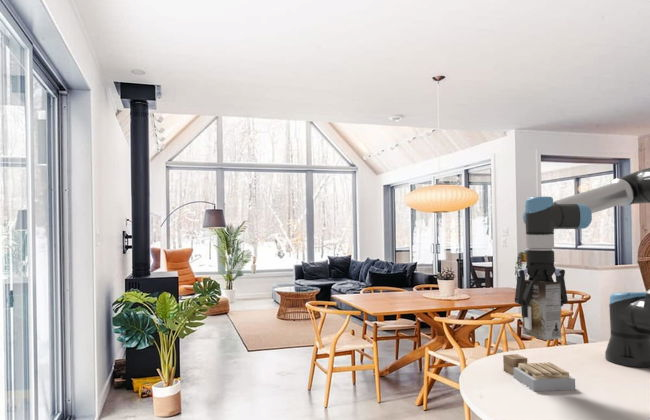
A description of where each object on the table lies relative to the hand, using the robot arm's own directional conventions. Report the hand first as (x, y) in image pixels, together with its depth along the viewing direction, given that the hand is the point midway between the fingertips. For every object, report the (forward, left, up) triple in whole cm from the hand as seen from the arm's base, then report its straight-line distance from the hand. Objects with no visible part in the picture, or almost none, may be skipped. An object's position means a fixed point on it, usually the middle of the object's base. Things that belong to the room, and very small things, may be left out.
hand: (541, 328), depth 140 cm
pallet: (0, 0, -13) cm, 13 cm away
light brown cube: (+3, -11, -16) cm, 20 cm away
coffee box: (0, 0, -3) cm, 3 cm away
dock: (0, 0, -16) cm, 16 cm away
